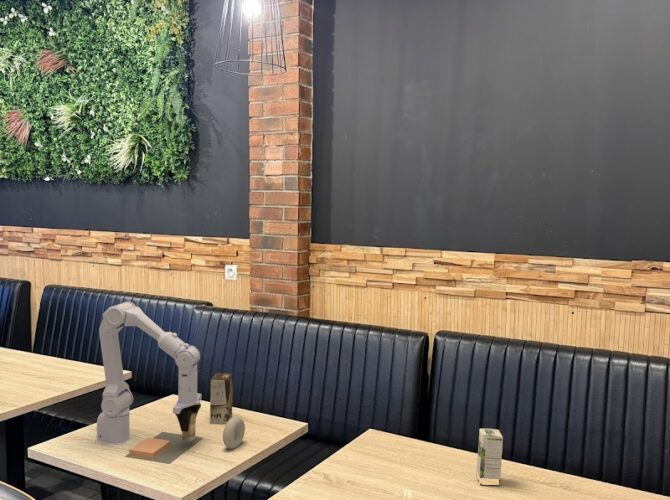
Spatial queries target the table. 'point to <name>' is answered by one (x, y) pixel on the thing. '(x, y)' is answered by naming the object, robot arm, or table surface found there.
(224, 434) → the grey round disc
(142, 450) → the tile
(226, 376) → the coffee box
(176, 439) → the mat
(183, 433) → the wooden block
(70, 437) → the table surface
